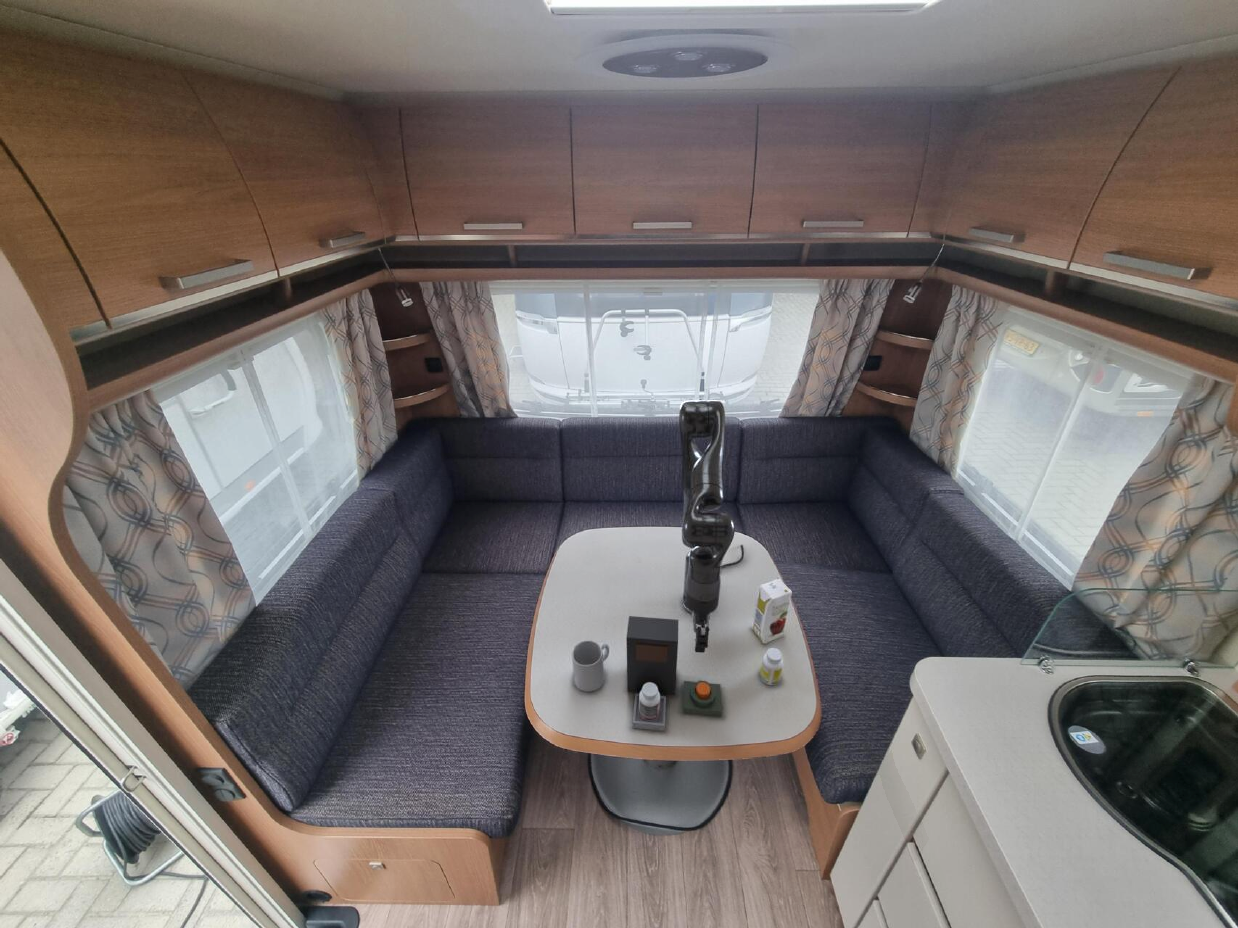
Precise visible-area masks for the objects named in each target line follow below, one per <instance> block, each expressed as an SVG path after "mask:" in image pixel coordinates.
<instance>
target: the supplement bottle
mask: <svg viewBox="0 0 1238 928" xmlns="http://www.w3.org/2000/svg"><path fill="white" fill-rule="evenodd" d="M760 667H761V668H760V672H759V676H760V679H761V680H762V681H763V683H765V684H766V685H769V686H776V685H777V684H778V683H779V682H780V679H781V675H782V672H783V667H784V661H783V654H782V651H780V650H779V649H778V648H775V647H770V648H768V649H767V650H766V653H765V654H764V655H763V657H762V662H761V666H760Z"/></svg>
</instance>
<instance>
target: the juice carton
mask: <svg viewBox="0 0 1238 928" xmlns="http://www.w3.org/2000/svg"><path fill="white" fill-rule="evenodd" d="M758 586H759V587H758V589H757V596H756V603H755V608H754V614H753V620H752V625H751V630H752V631H753V633H754V634H755V635H756V636H757V637H758V639H759V640H760V641H761V643H763V644H764V645H765V644H767V643H770V642H772V641H773V640H777V639H780V638H782V637H783V634H784V630H785V626H786V621H787V617H788V613H789V608H790V604H791V599H792V594H793V591H792V590H791V589H790V587H788V586H787V585H786V584H785V583H784V582H783V580H781V579H780V578H779V577H777V578H776V579H773V580H771V581H769V582H764V583H762V584H761V583H760V584H759V585H758Z"/></svg>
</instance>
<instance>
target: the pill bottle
mask: <svg viewBox="0 0 1238 928" xmlns="http://www.w3.org/2000/svg"><path fill="white" fill-rule="evenodd" d="M639 713H640V716H641V717H642V718H643V719H644V720H646V721H654V720H656V719H657V718H658V716H659V713H660V693H659V691H658V688H657V686H656V685H655V684H654V683H651V682H648V683H646V684H644V685H643V687H642V690H641V691H640V694H639Z"/></svg>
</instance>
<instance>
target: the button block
mask: <svg viewBox="0 0 1238 928" xmlns="http://www.w3.org/2000/svg"><path fill="white" fill-rule="evenodd" d="M701 682H704V683H706V684H708V685H709V687H710V695H709V697H708V698H705V699H702V698H700V697H698V696H697V694H696V687H697V685H698V684H699V683H701ZM682 684H683V685H682V686H683V687H682V688H683V689H682V691H683V692H682V693H683V694H682V699H683V700H682V701H683V702H682V706H683V707H682V710H683V711H682V713H683V714H692V715H702V716H711V717H712V716H713V717H723V700H722V699H723V698H722V686H721V684H720V683H712V682H711V683H710V682H708V681H706V680H697V681H691V680H683V683H682Z"/></svg>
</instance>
